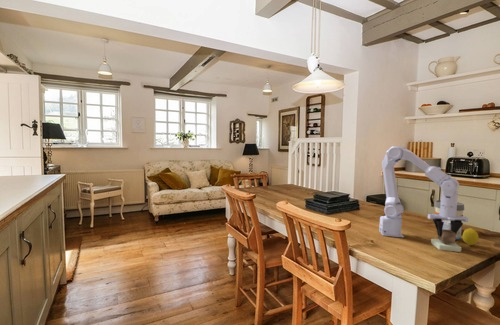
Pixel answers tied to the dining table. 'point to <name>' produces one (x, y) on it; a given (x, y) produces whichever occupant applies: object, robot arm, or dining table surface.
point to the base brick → (445, 245)
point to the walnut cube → (447, 236)
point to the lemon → (470, 236)
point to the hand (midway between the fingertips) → (446, 236)
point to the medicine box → (448, 227)
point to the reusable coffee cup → (458, 213)
